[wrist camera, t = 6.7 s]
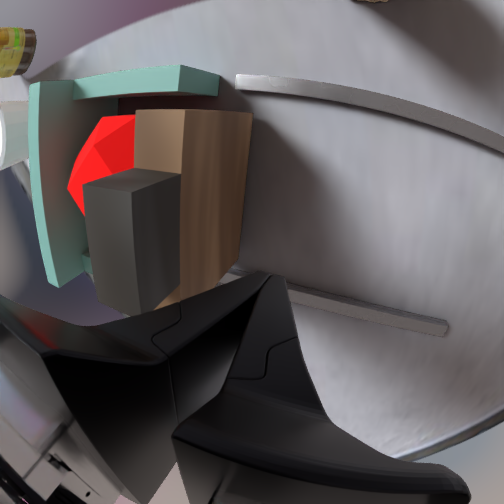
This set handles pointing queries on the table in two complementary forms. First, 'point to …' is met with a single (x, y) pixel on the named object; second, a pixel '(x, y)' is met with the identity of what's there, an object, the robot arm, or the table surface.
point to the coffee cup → (375, 0)
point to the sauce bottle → (16, 50)
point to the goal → (71, 142)
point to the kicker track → (385, 105)
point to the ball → (103, 154)
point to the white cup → (13, 133)
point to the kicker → (169, 209)
